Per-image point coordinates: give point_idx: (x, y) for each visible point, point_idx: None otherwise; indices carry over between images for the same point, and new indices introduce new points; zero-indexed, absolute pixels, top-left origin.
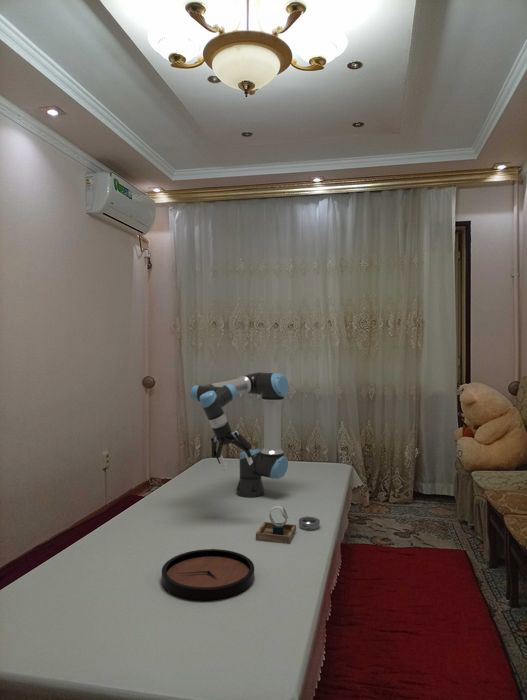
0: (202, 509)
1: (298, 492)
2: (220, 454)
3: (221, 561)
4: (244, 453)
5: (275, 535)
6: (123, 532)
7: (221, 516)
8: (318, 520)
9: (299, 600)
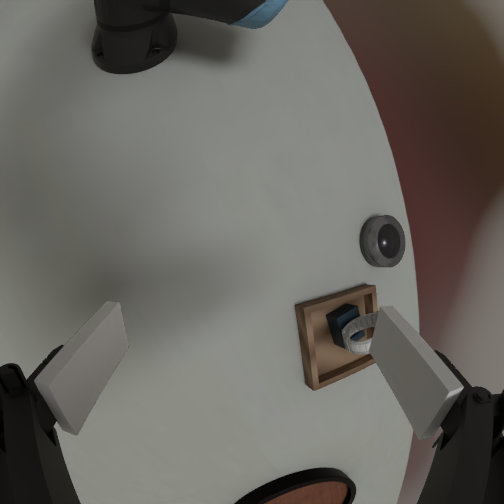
0: (42, 236)
1: None
2: (24, 378)
3: (293, 492)
4: (417, 429)
5: (355, 372)
6: None
7: (125, 271)
8: (402, 233)
9: (396, 466)
